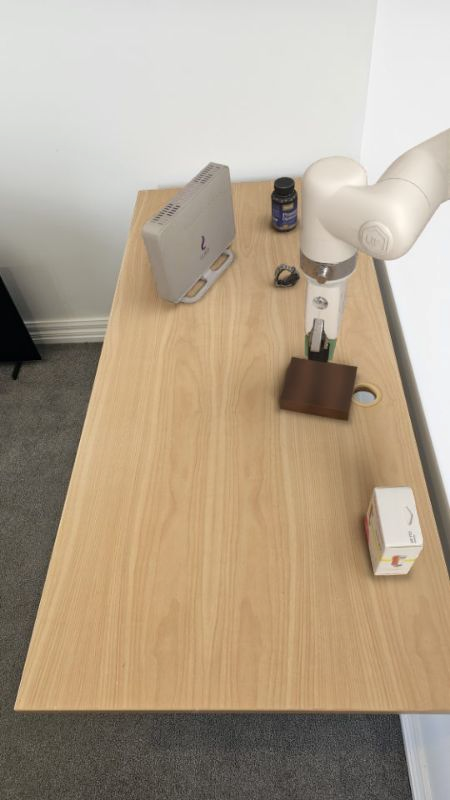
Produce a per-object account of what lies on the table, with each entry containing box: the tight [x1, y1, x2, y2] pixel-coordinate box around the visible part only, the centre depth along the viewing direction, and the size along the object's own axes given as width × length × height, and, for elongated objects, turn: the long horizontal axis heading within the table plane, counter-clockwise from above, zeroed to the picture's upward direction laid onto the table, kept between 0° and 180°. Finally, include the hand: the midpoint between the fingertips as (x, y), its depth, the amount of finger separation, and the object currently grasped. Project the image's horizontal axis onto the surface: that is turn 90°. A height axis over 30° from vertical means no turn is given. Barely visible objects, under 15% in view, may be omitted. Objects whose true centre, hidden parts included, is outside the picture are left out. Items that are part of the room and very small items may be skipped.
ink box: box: [363, 485, 424, 576], centre depth 69 cm, size 9×5×12 cm, turn 0°
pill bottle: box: [270, 176, 299, 233], centre depth 116 cm, size 6×6×11 cm
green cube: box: [303, 334, 338, 362], centre depth 79 cm, size 4×4×4 cm
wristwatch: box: [273, 263, 301, 288], centre depth 107 cm, size 3×5×5 cm
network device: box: [141, 161, 237, 304], centre depth 106 cm, size 26×9×20 cm, turn 148°
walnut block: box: [279, 356, 358, 422], centre depth 90 cm, size 12×10×3 cm
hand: (321, 347), depth 81 cm, fingers closed on green cube, 4 cm apart
